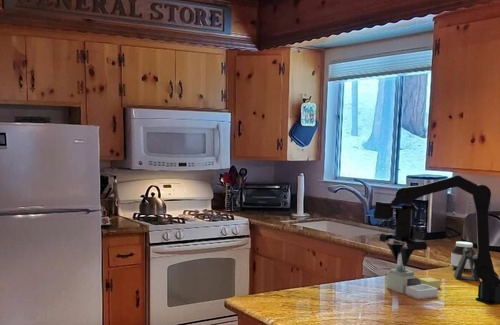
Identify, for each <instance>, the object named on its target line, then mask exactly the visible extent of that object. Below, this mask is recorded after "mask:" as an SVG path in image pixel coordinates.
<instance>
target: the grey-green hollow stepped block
mask: <svg viewBox="0 0 500 325" xmlns="http://www.w3.org/2000/svg"><path fill="white" fill-rule="evenodd" d="M386 277H387V282H386V283H387V284H386V288H387V289H389V290H392V291H395V292H397V293H400V294H406V286H413V285H421V282H420V280H419V279H418V277H417V275H415V272H414V271H411V270H409V269H406V270H397V268H390V269H389V271H387V276H386Z"/></svg>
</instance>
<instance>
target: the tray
mask: <svg viewBox="0 0 500 325" xmlns="http://www.w3.org/2000/svg"><path fill="white" fill-rule="evenodd" d="M405 296H408V297H410V298H413V299H415V300H424V299H425V300H426V299H434V298H438V296H439V288H435V287H432V286H429V285H426V284H422V285H413V286H406V293H405Z"/></svg>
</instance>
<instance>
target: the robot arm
mask: <svg viewBox="0 0 500 325" xmlns="http://www.w3.org/2000/svg"><path fill="white" fill-rule="evenodd" d="M453 188H459V189H460V190H463V191H464V192H466V193H469V194H470V195H472V200H473V204H474V207H475V215H476V216H475V217H476V235H477V236H476V237H477V238H476V239H477V240H476V241H477V252H476V256H473V261H474V265H473V270H474V271H476V275H477V276H478V277H479V279H480V281H478V282H479V284H478V285H477V287H478V288H477V297H475V300H477V301H479V302H482V303H484V304H489V305H498V304H500V276H499V274H498V273H497V272H496V271H495V269H494V264H493V260H492V257H491V255H492V254H491V252H490V231H489V230H490V225H489V208H490V204H491V199H492V192H491V188H489V187H488V186H487V185H485V184H483V183H480V184H479V183H478V184H477V183H474V182H472V181H471V180H469V179H467V178H464V177H463V176H462V175H460V174H455V175H453V176H451V177H447V178H442V179H440V180H436V181H433V182H429V183H426V184H422V185H411V186H402V187H400V188H398V190H397V191H396V192H395V197H394V198H393V199H392V200H391V202H385V201H379V200H377V201H375V206H374V211H373V219H374V221H375V220H376V221H388V222H390V221H391V220H392V219H394V218H395V219H394V223H392V228H394V233H393V232H385V233H380V235H379V242H383V243H386V241H388V243H386V245H387V246H388V248H389V249H390V251H391V254H392V256H393V258H394V260H395V263H396V264H397V257H398V252H401V256H402V262H403V266H406V267H407V265H408V263H409V260H410V258H411V257H412V256H411V255H412V254H413V253H414V251H421V250H427V249H428V243H427V241H425V240H423V239H424V237H425V233H423V232H421V231H419V230H416V228H415V227H416V226H415V225H414V224H412V221H413V220H412V219H413V211H415V212H416V211H418V210H419V208H418V207H417V206H416V205H415V203H414V202H413V201H416V200H417V199H419V198H421V197H424V196H426V195H431V194H435V193H438V192H442V191H446V190H449V189H453ZM411 202H413V203H412V204H409V203H411ZM400 204H402V205H401V206H399V205H400Z"/></svg>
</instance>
